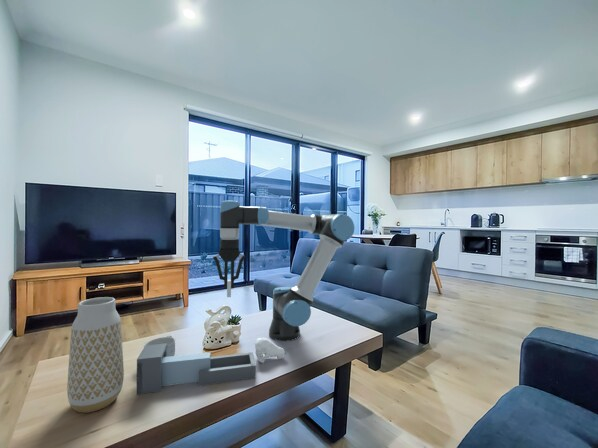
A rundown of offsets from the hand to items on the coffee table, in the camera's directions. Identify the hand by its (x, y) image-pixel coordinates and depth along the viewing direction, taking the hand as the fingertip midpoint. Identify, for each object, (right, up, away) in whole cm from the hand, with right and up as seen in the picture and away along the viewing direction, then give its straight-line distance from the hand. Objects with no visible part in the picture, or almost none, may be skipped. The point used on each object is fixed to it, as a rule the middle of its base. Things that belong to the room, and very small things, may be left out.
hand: (228, 296), depth 113 cm
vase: (-33, -25, -29) cm, 50 cm away
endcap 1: (-21, -24, -20) cm, 38 cm away
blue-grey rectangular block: (-13, -25, -18) cm, 33 cm away
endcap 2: (+4, -25, -13) cm, 28 cm away
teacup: (-25, -24, -4) cm, 35 cm away
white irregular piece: (+17, -25, -2) cm, 30 cm away
